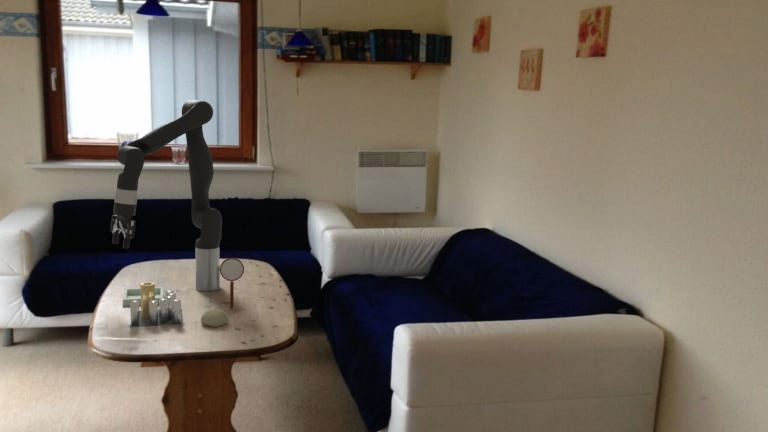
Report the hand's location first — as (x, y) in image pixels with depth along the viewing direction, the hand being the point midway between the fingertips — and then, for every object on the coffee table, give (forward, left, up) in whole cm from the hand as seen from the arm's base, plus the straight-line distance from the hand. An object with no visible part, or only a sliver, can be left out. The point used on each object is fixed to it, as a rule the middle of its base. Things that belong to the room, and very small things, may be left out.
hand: (120, 246), depth 251 cm
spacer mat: (-12, +18, -22) cm, 31 cm away
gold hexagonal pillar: (-9, +17, -22) cm, 29 cm away
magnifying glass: (-38, +13, -23) cm, 46 cm away
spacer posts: (-12, +19, -22) cm, 31 cm away
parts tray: (-7, -4, -22) cm, 24 cm away
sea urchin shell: (-31, +26, -23) cm, 47 cm away
